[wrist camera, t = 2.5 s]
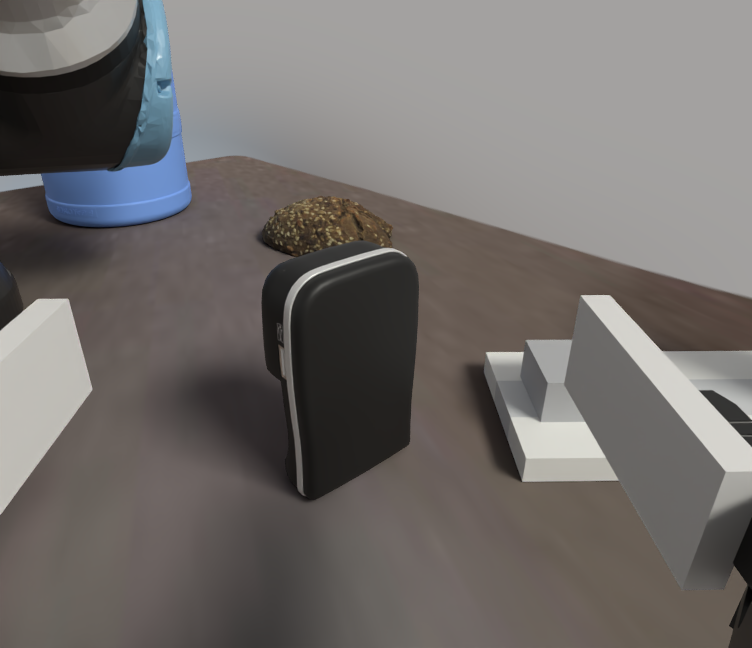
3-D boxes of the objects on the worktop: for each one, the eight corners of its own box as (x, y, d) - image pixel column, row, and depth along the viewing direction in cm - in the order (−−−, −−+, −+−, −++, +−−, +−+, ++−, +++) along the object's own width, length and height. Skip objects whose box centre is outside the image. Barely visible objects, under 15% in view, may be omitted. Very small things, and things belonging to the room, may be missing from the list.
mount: (483, 372, 37) (506, 180, 31) (785, 370, 38) (862, 181, 32) (522, 481, 28) (563, 243, 23) (914, 477, 29) (1054, 244, 23)
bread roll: (247, 241, 59) (243, 194, 57) (337, 216, 67) (336, 173, 65) (328, 277, 52) (326, 224, 49) (419, 244, 59) (421, 197, 57)
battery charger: (369, 413, 33) (370, 224, 28) (415, 446, 31) (426, 245, 25) (265, 467, 29) (243, 258, 24) (308, 510, 27) (294, 287, 21)
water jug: (217, 197, 73) (184, -69, 60) (138, 236, 59) (74, -94, 46) (113, 186, 77) (61, -65, 63) (17, 221, 63) (-74, -87, 50)
